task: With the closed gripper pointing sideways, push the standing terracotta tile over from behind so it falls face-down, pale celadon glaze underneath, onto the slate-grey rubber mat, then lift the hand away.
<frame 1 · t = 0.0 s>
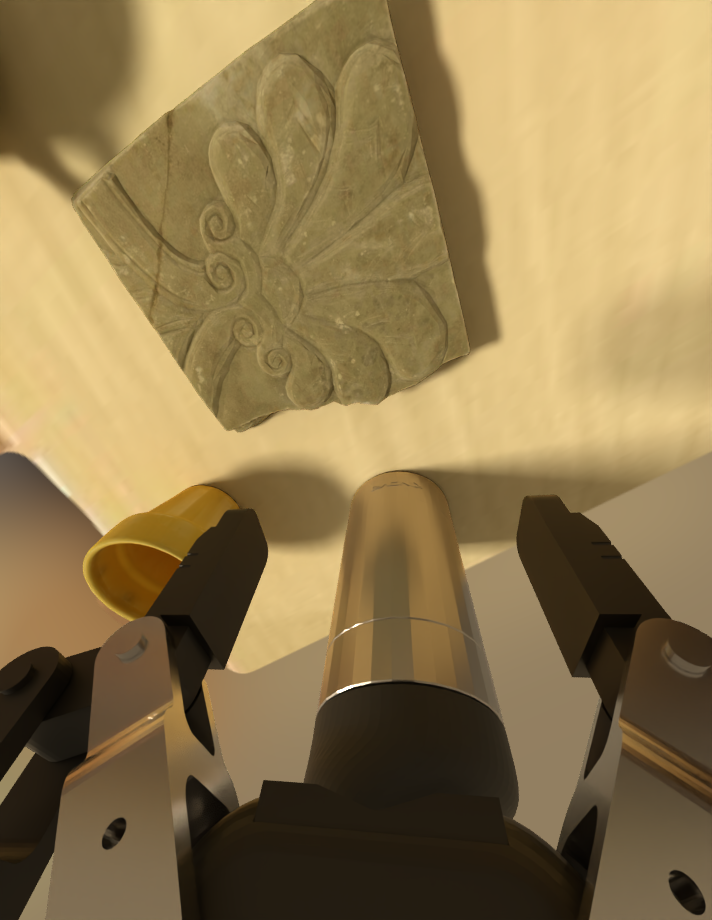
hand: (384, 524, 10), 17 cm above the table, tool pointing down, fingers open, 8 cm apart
plant pot: (210, 509, 34), on the table
decorative tile: (296, 282, 23), on the table
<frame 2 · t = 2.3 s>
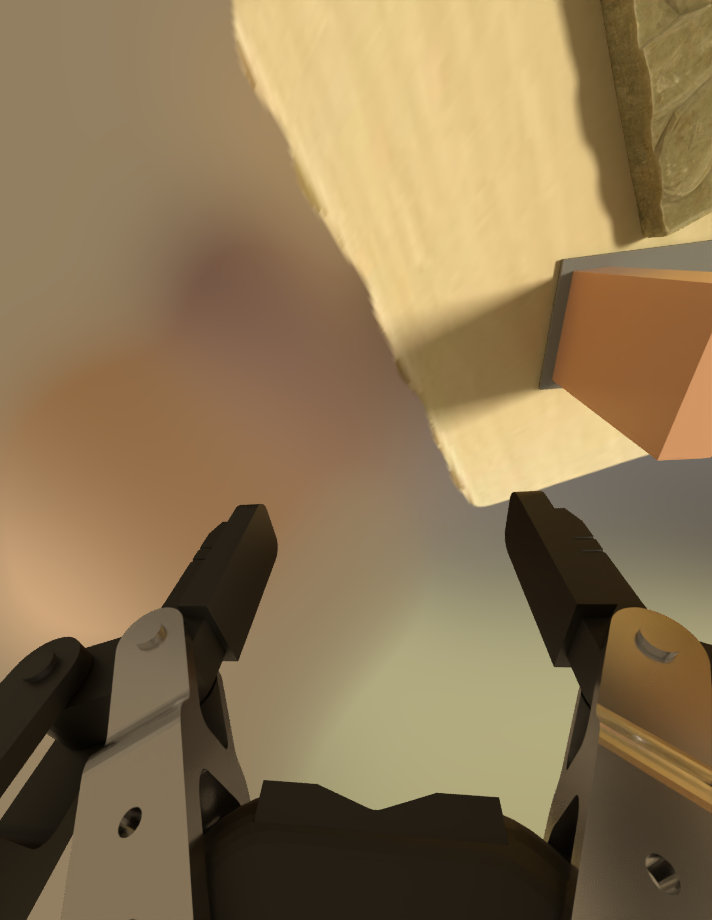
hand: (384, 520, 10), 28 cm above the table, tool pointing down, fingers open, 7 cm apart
rubber mat: (576, 327, 32), on the table
terracotta tile: (578, 328, 32), resting on rubber mat
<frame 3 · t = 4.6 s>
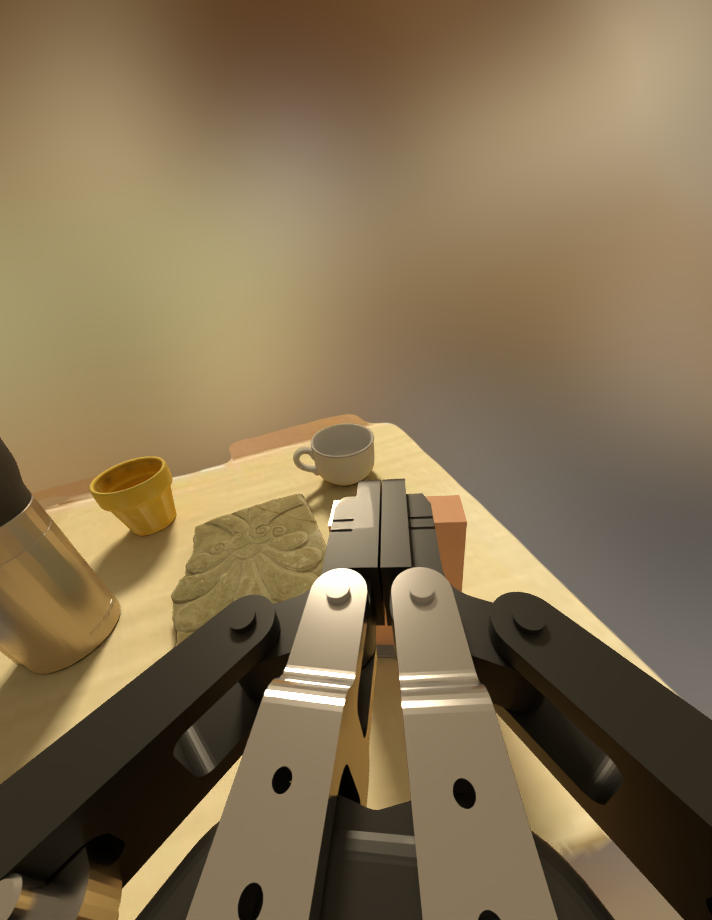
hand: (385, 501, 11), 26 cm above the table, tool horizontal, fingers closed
plant pot: (156, 522, 55), on the table
teacup: (339, 478, 59), on the table
decorative tile: (257, 569, 44), on the table
terracotta tile: (404, 630, 33), resting on rubber mat
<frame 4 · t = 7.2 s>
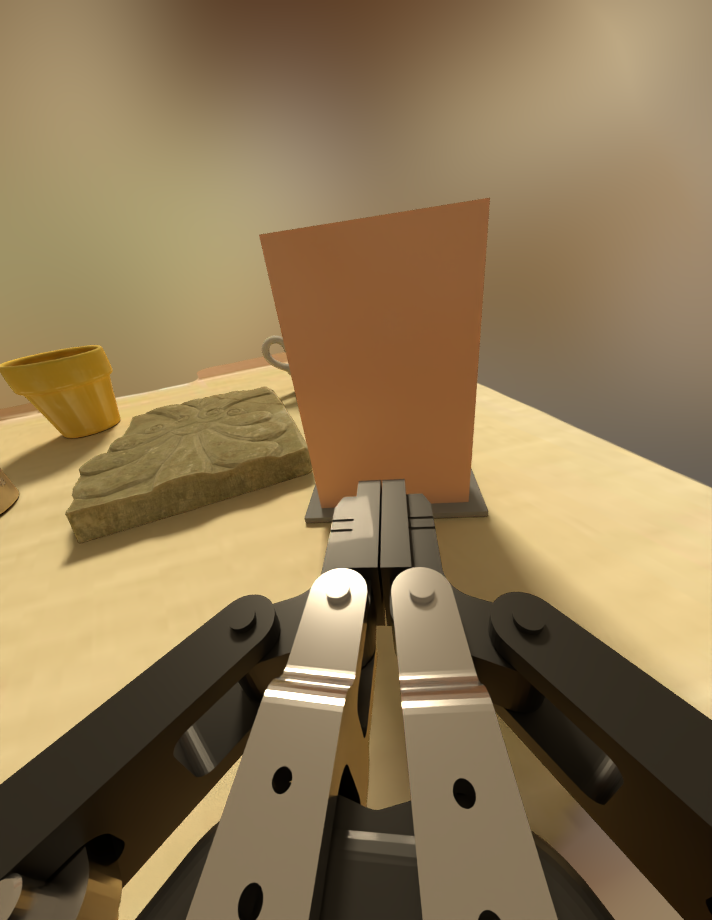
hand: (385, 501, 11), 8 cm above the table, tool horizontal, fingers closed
plant pot: (95, 428, 45), on the table
rubber mat: (392, 496, 24), on the table
teacup: (319, 383, 50), on the table
decorative tile: (206, 458, 34), on the table
terracotta tile: (392, 491, 24), resting on rubber mat
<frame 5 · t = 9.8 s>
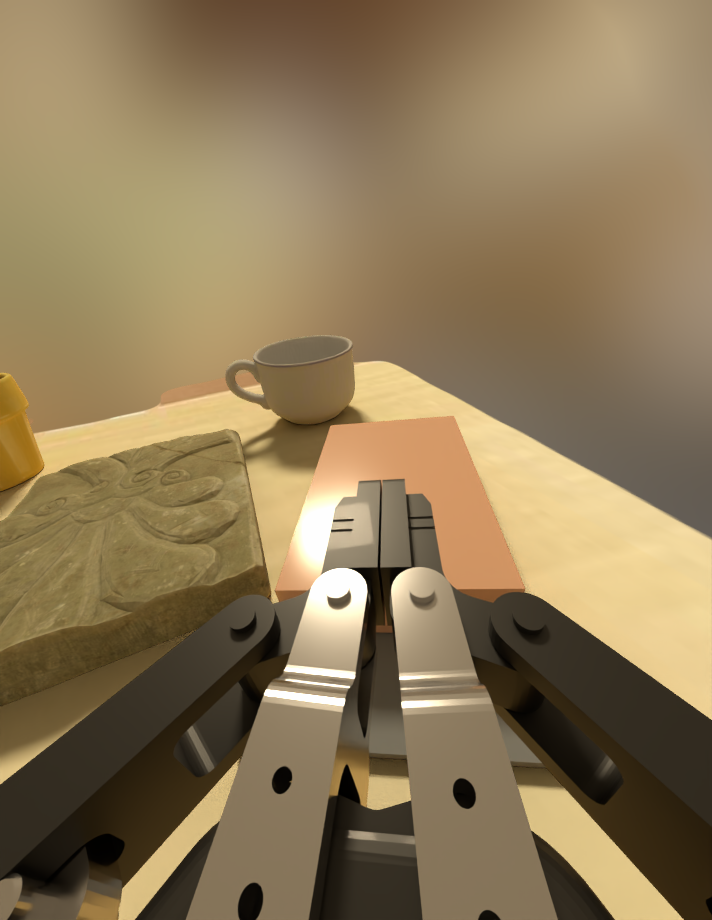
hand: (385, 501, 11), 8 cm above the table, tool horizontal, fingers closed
plant pot: (8, 480, 35), on the table
rubber mat: (399, 680, 14), on the table
teacup: (303, 417, 39), on the table
decorative tile: (129, 546, 24), on the table
terracotta tile: (395, 612, 14), point 2 cm above the table, tilted 90°, touching rubber mat
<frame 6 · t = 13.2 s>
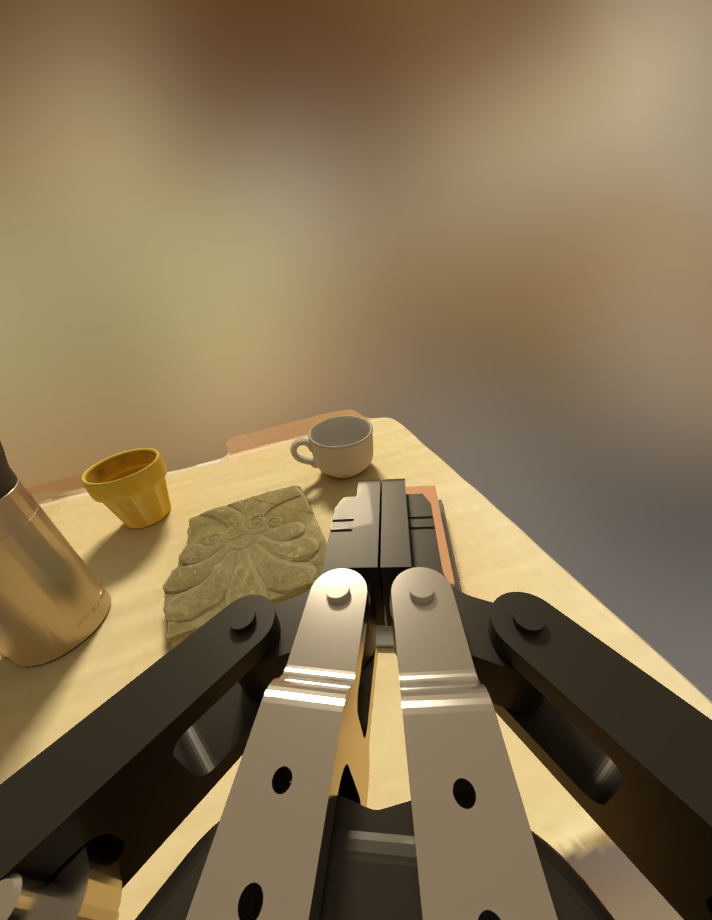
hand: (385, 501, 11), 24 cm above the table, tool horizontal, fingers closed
plant pot: (150, 515, 53), on the table
rubber mat: (404, 622, 32), on the table
teacup: (337, 471, 58), on the table
decorative tile: (252, 561, 43), on the table
terracotta tile: (402, 594, 33), point 2 cm above the table, tilted 90°, touching rubber mat
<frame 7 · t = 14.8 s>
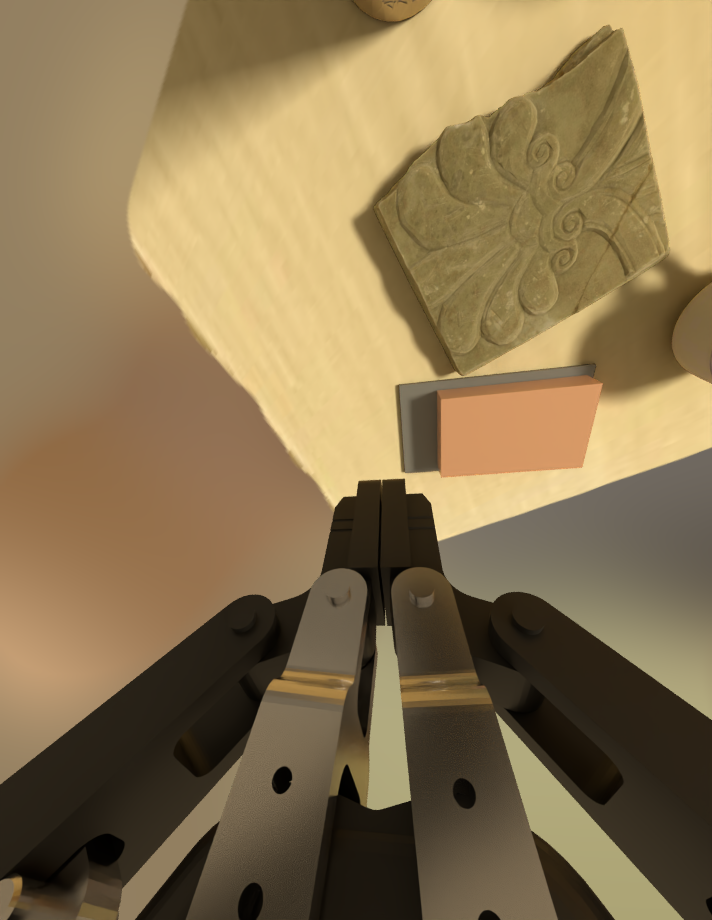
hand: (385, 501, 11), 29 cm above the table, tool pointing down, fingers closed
rubber mat: (422, 429, 41), on the table
decorative tile: (510, 231, 31), on the table
terracotta tile: (439, 435, 39), point 2 cm above the table, tilted 90°, touching rubber mat
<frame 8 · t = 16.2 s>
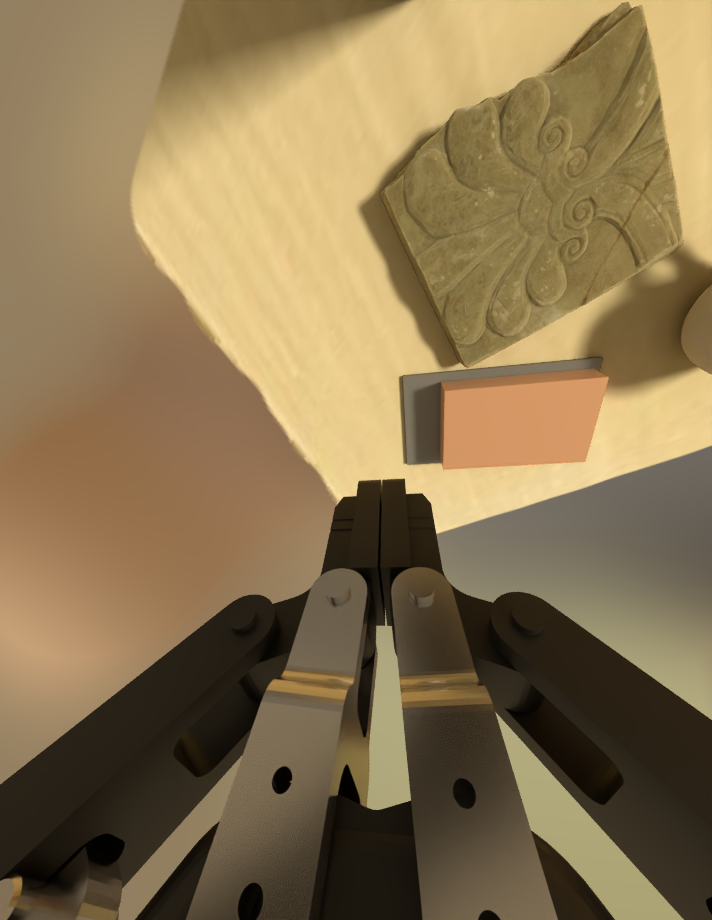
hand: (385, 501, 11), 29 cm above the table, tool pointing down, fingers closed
rubber mat: (425, 421, 41), on the table
decorative tile: (519, 219, 30), on the table
terracotta tile: (442, 427, 39), point 2 cm above the table, tilted 90°, touching rubber mat
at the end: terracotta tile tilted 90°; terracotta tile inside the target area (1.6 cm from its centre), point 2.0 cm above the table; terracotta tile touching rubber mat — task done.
